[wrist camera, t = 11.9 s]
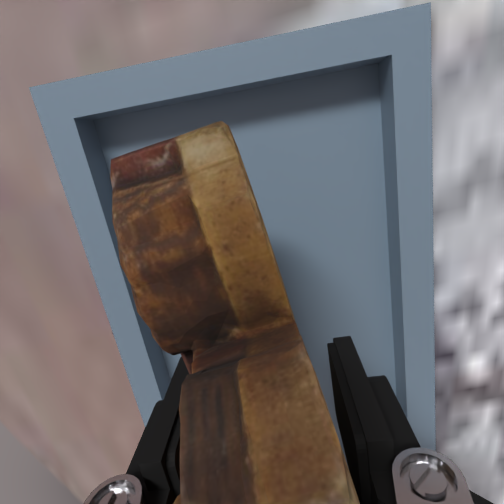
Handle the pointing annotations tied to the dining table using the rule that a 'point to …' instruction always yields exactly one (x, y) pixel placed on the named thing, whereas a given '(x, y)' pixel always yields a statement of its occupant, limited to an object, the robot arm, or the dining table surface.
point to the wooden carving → (224, 326)
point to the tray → (285, 185)
